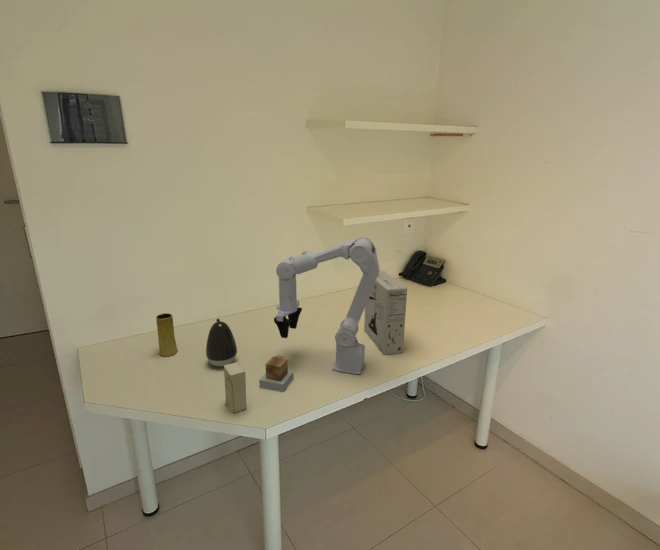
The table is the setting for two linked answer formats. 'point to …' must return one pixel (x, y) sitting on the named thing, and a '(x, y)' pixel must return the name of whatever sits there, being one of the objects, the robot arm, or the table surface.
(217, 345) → the black egg shape
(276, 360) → the walnut cube
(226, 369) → the skincare box
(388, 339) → the product box
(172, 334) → the vase
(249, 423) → the table surface
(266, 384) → the slate plinth
